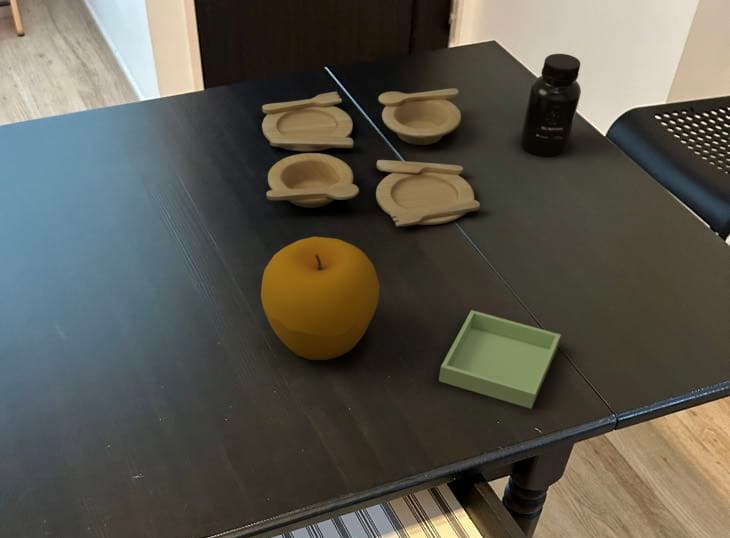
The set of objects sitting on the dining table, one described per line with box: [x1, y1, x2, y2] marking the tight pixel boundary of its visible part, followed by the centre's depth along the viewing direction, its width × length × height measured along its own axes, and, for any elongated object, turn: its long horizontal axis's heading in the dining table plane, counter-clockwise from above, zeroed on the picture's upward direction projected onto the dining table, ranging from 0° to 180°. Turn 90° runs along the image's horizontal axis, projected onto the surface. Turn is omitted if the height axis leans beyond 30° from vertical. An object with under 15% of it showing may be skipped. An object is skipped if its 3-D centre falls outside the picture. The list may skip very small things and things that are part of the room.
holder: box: [438, 309, 562, 410], centre depth 91 cm, size 10×10×2 cm
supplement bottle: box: [519, 53, 582, 158], centre depth 115 cm, size 7×7×12 cm
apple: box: [260, 236, 381, 361], centre depth 90 cm, size 13×13×11 cm
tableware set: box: [261, 87, 481, 228], centre depth 116 cm, size 35×29×4 cm
